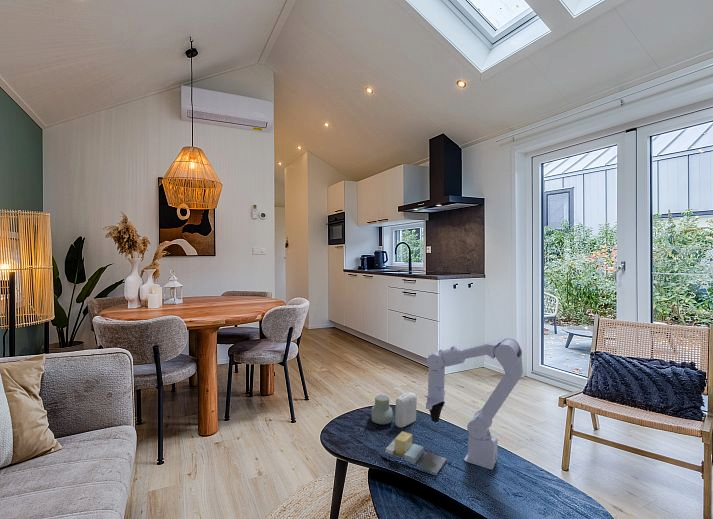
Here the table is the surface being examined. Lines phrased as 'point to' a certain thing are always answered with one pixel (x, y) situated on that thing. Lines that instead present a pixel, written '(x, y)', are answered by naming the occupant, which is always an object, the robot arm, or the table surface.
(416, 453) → the block
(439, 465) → the vise
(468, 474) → the table surface
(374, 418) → the air freshener
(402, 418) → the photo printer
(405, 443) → the brass block
